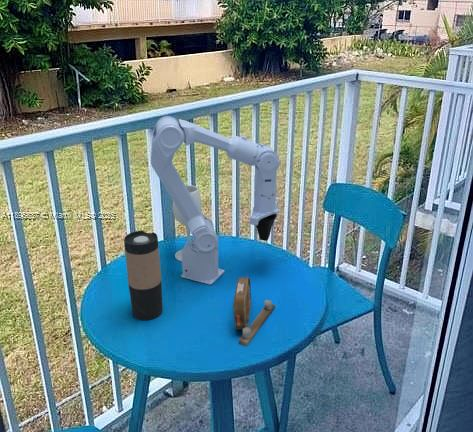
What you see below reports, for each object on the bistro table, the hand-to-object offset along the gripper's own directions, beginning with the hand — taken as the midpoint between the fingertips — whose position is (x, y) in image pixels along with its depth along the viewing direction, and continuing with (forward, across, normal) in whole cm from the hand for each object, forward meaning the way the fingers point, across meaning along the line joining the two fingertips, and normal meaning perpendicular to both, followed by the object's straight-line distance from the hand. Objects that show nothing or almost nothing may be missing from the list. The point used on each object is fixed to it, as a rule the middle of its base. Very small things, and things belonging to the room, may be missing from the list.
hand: (264, 239), depth 130 cm
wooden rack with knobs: (+9, -24, -9) cm, 27 cm away
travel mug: (+10, -31, +17) cm, 37 cm away
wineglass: (+10, -2, +23) cm, 25 cm away
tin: (+10, -23, -4) cm, 25 cm away
